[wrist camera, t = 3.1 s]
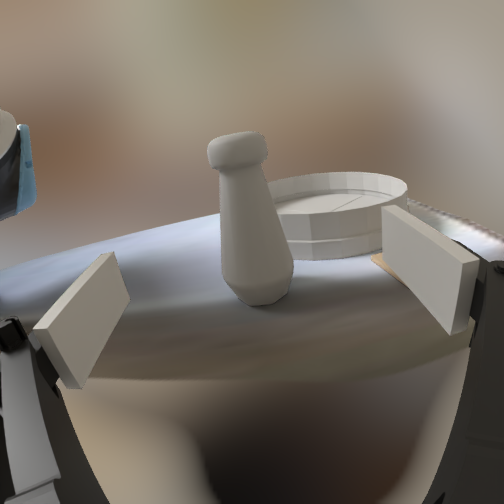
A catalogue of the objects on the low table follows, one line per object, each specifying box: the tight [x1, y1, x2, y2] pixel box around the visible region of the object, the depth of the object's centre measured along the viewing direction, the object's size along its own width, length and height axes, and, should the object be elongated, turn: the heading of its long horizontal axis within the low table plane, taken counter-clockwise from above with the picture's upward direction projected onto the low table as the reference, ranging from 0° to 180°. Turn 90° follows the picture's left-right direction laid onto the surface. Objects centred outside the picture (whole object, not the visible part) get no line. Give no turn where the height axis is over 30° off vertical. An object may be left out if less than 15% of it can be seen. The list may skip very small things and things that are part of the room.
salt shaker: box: [207, 131, 294, 306], centre depth 24 cm, size 6×6×13 cm
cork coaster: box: [371, 252, 407, 286], centre depth 26 cm, size 6×6×1 cm
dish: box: [267, 172, 409, 261], centre depth 39 cm, size 22×22×5 cm
